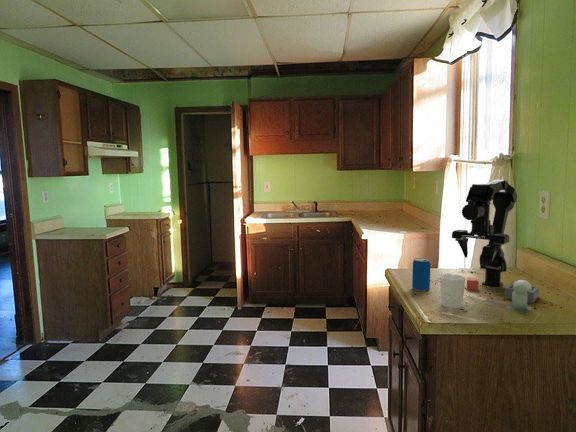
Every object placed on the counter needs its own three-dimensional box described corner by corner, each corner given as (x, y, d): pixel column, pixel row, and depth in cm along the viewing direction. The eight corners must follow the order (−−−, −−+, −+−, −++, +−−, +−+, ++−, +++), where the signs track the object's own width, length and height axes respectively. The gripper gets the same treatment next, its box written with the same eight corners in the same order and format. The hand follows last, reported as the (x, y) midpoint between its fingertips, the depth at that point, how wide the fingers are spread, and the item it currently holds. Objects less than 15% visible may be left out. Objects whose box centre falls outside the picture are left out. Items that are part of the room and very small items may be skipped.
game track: (468, 296, 152) (468, 295, 152) (532, 308, 139) (532, 307, 139) (462, 300, 147) (462, 299, 147) (527, 313, 134) (527, 312, 134)
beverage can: (430, 292, 157) (431, 261, 155) (412, 291, 158) (413, 261, 157) (428, 287, 163) (429, 257, 162) (411, 287, 164) (412, 257, 163)
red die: (466, 287, 163) (466, 276, 162) (477, 288, 161) (478, 277, 161) (466, 290, 159) (467, 279, 159) (478, 291, 158) (478, 279, 157)
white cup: (461, 311, 137) (462, 281, 136) (436, 306, 141) (437, 278, 140) (465, 304, 144) (466, 276, 142) (441, 300, 148) (442, 273, 146)
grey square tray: (510, 292, 155) (511, 282, 155) (538, 297, 150) (539, 287, 149) (504, 298, 149) (505, 287, 148) (532, 304, 143) (533, 292, 142)
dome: (514, 292, 153) (515, 277, 153) (532, 296, 149) (533, 279, 149) (510, 296, 149) (511, 280, 148) (529, 300, 145) (530, 283, 144)
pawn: (513, 304, 142) (514, 281, 141) (528, 307, 139) (529, 283, 138) (510, 308, 138) (511, 284, 137) (524, 310, 135) (526, 286, 134)
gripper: (515, 217, 151) (513, 259, 153) (464, 213, 164) (462, 252, 166) (505, 220, 143) (502, 264, 145) (451, 216, 156) (450, 257, 158)
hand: (478, 259), depth 154 cm, fingers open, 9 cm apart
